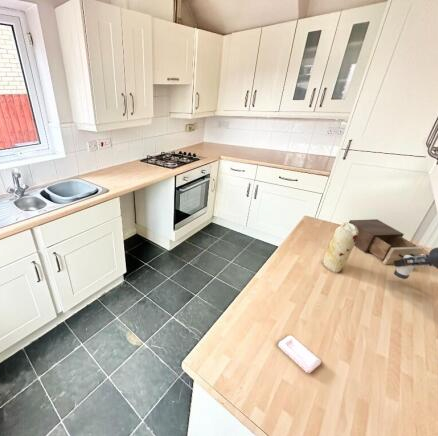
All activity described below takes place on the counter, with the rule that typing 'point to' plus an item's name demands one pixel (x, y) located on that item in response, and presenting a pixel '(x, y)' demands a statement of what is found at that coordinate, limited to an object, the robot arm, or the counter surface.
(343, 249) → the food model
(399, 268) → the tube
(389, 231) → the cabinet
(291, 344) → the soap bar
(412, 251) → the drawer
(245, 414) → the counter surface
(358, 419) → the counter surface
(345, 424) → the counter surface
